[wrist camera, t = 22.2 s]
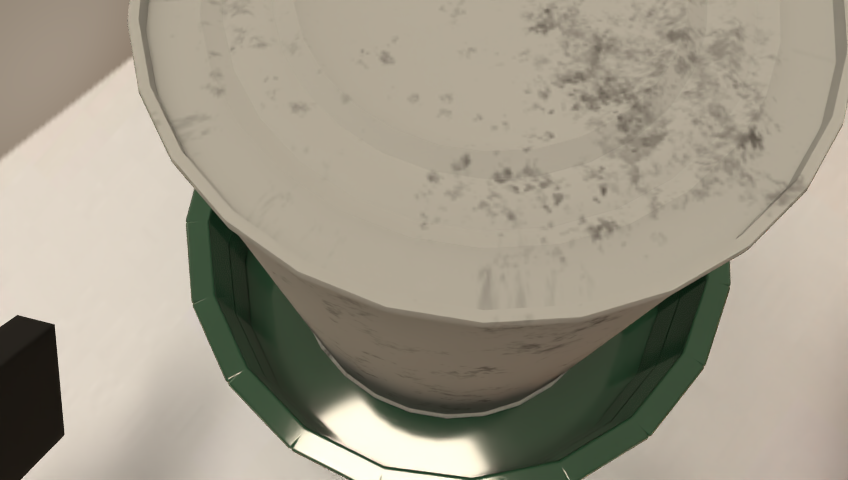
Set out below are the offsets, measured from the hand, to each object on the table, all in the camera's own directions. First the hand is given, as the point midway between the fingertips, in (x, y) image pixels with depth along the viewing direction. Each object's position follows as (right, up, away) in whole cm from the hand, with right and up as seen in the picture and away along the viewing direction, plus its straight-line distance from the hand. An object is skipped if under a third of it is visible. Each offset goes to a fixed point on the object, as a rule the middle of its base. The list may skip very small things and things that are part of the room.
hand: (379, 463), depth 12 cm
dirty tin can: (+2, +4, +8) cm, 9 cm away
